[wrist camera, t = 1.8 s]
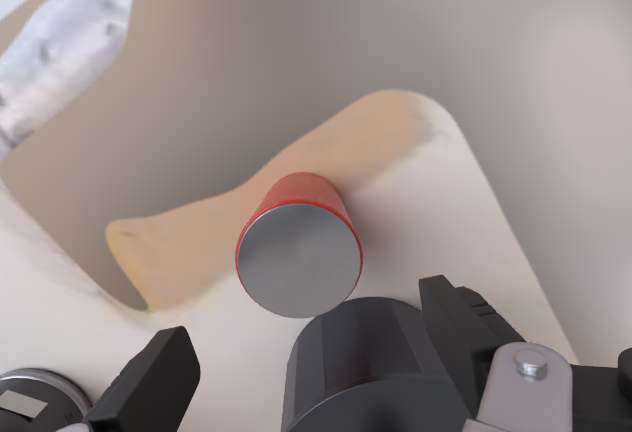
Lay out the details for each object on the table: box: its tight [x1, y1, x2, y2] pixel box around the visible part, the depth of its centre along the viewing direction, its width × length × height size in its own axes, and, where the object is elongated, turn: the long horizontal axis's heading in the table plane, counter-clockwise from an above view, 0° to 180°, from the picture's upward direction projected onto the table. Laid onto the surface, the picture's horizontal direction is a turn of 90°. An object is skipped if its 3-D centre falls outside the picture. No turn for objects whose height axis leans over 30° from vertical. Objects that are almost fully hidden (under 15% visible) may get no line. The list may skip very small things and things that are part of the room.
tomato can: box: [235, 173, 363, 318], centre depth 20 cm, size 6×6×10 cm
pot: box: [281, 297, 451, 432], centre depth 24 cm, size 14×19×9 cm
